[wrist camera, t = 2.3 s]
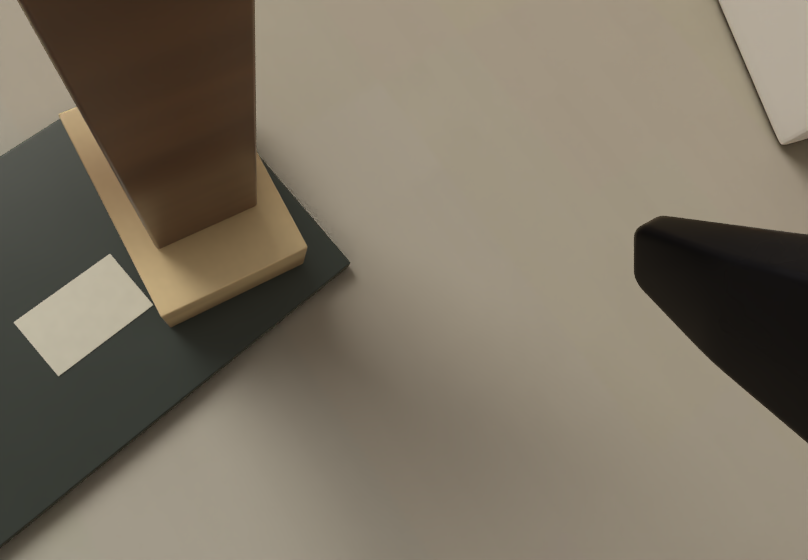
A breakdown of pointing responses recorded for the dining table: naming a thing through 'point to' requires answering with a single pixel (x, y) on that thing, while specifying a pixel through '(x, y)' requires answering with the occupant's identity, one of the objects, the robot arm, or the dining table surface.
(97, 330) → the slate board
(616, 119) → the dining table surface
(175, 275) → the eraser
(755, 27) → the milk carton
